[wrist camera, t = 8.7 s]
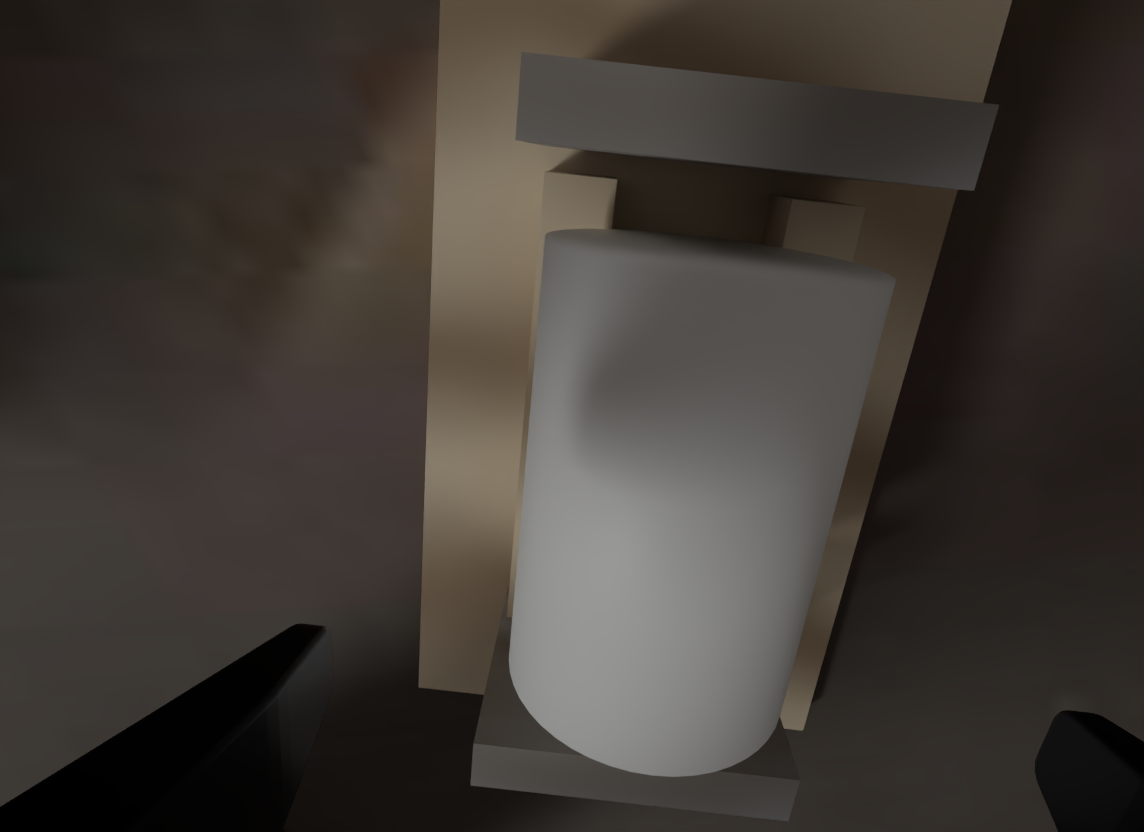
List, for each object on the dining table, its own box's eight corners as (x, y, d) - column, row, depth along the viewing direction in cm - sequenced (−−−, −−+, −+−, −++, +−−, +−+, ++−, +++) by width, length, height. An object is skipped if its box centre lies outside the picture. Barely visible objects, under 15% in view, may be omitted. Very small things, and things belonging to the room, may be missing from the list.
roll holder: (796, 711, 22) (869, 920, 16) (424, 669, 22) (357, 862, 16) (994, -1, 15) (1257, -107, 9) (450, -61, 15) (349, -207, 9)
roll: (751, 598, 18) (816, 795, 13) (524, 571, 18) (488, 755, 13) (831, 250, 15) (965, 305, 9) (557, 220, 15) (526, 257, 9)
